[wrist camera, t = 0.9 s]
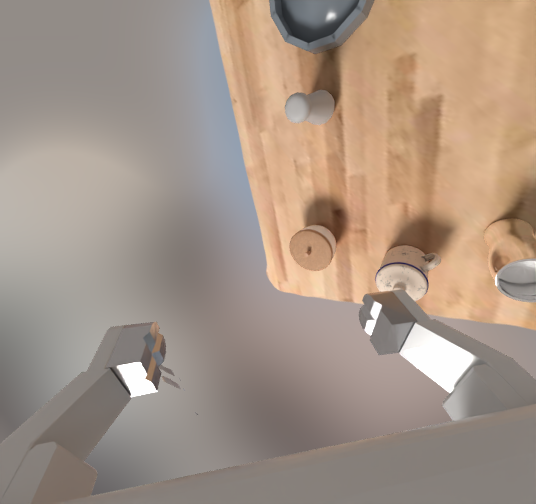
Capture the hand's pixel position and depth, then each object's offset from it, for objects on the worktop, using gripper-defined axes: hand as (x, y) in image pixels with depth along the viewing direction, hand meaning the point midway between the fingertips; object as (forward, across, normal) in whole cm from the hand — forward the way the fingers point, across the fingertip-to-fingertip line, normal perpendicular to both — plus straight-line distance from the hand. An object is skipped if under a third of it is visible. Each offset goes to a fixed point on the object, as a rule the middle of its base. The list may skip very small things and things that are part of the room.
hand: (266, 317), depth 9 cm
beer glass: (+22, -45, +14) cm, 52 cm away
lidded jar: (+44, -20, +24) cm, 54 cm away
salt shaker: (+46, -19, -5) cm, 50 cm away
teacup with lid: (+30, -36, +23) cm, 52 cm away
